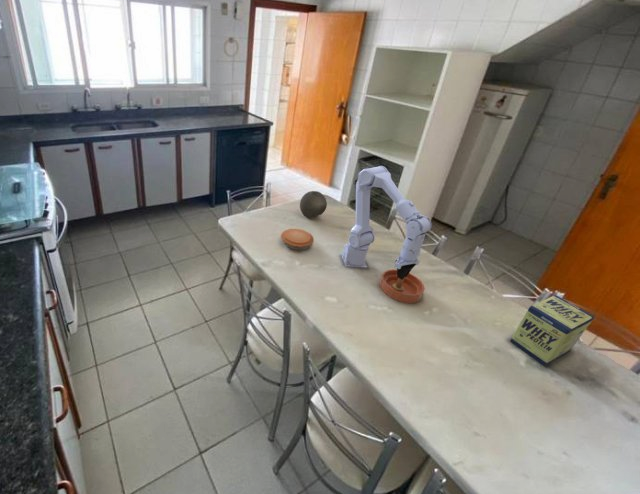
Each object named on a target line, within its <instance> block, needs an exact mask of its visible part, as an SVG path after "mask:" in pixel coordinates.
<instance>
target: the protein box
mask: <svg viewBox="0 0 640 494" xmlns="http://www.w3.org/2000/svg"><path fill="white" fill-rule="evenodd" d="M595 318H596V316H595V315H593V314H591V313H589V312H587V311H586V310H584V309H582V308H580V307H579V306H577V305H576V304H573V303H571V302H569V301H568V300H567V299H564V298H562V297H561V296H559V295H557V294H554V295H552V296H549V297H548V298H545V299H543V300H542V301H539V302H537V303H535V304H532V305H530V306H529V307H528V309H527V311H526V312H525V314H524V316H523V318H522V319H521V321H520V323H519V324H518V326H517V327H516V330H515V331H514V333H513V335H512V336H511V338H510V340H509V342H511V343H512V344H513V345H515V346H516V347H518V348H519V349H520V350H522V352H524V353H526V354H527V355H529V356H530V357H532V358H533V359H534V360H535V361H537V362H538V363H540V364H541V365H542V366H544V367H546V366H548V365H549V364H551V363H553V362H554V361H556V360H558V359H559V358H561V357H563V356H564V355H566V354H568V353H569V352H571V351H572V349H573V348H574V346H575V345H576V344H577V342H578V341H579V340H580V338H581V337H582V336H583V334H584V332H585V331H586V330H587V329H588V327H589V326H590V324H591V323H592V322H593V321H594V319H595Z"/></svg>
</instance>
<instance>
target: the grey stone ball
mask: <svg viewBox="0 0 640 494" xmlns="http://www.w3.org/2000/svg"><path fill="white" fill-rule="evenodd" d="M327 208H328V202H327V198H326V196H324V194H323V193H322V192H320V191H317V190H311V191H307V192H305V193H304V194H303V196H302V197H301V199H300V202H299V210H300V212H301V214H302V215H303V216H304V217H306V218H309V219H315V218H318V217H319V216H321V215H323V214H324V213H325V211H326V209H327Z"/></svg>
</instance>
